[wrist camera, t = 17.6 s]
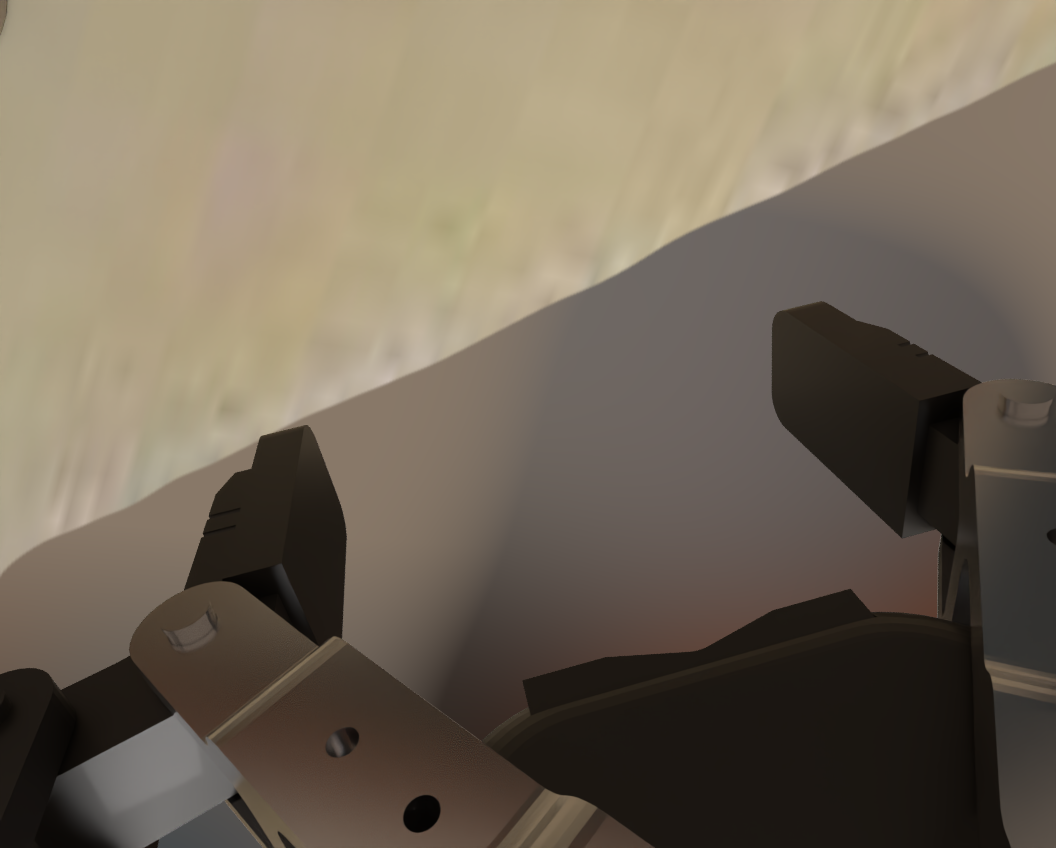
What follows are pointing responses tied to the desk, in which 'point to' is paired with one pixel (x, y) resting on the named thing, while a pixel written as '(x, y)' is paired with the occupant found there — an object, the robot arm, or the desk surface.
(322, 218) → the desk surface
